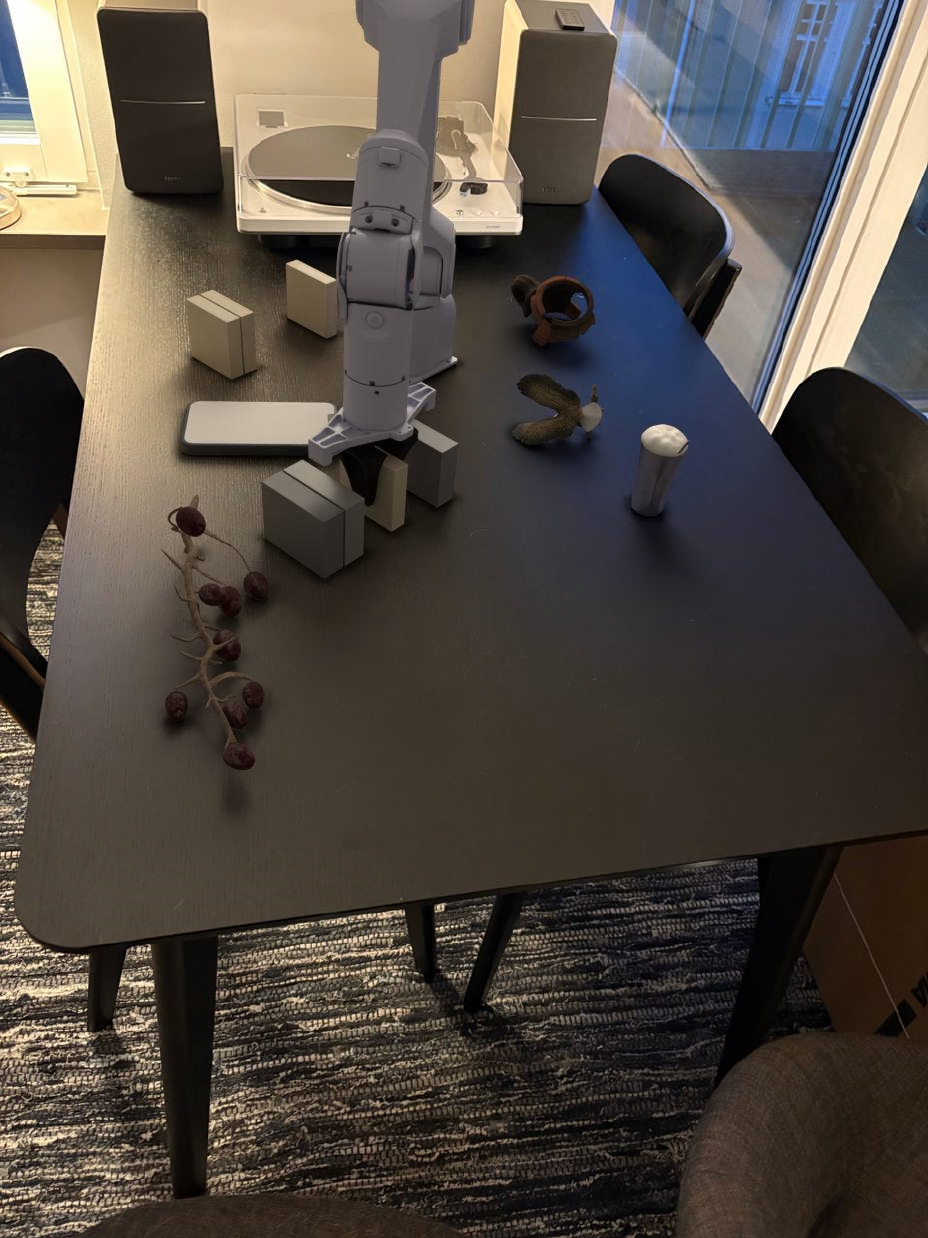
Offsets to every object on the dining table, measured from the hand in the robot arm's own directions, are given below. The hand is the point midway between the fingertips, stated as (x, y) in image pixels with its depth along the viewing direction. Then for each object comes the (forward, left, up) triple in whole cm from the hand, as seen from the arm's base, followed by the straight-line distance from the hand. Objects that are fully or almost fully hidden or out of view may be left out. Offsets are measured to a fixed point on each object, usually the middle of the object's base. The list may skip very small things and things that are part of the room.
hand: (372, 495), depth 93 cm
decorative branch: (+22, +3, -2) cm, 22 cm away
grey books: (+1, 0, -2) cm, 2 cm away
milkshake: (-21, +19, -2) cm, 28 cm away
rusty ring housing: (-44, -11, -2) cm, 45 cm away
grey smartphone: (-1, -17, -2) cm, 17 cm away
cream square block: (0, 0, -2) cm, 2 cm away
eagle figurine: (-25, +4, -2) cm, 25 cm away
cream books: (-15, -31, -2) cm, 34 cm away
